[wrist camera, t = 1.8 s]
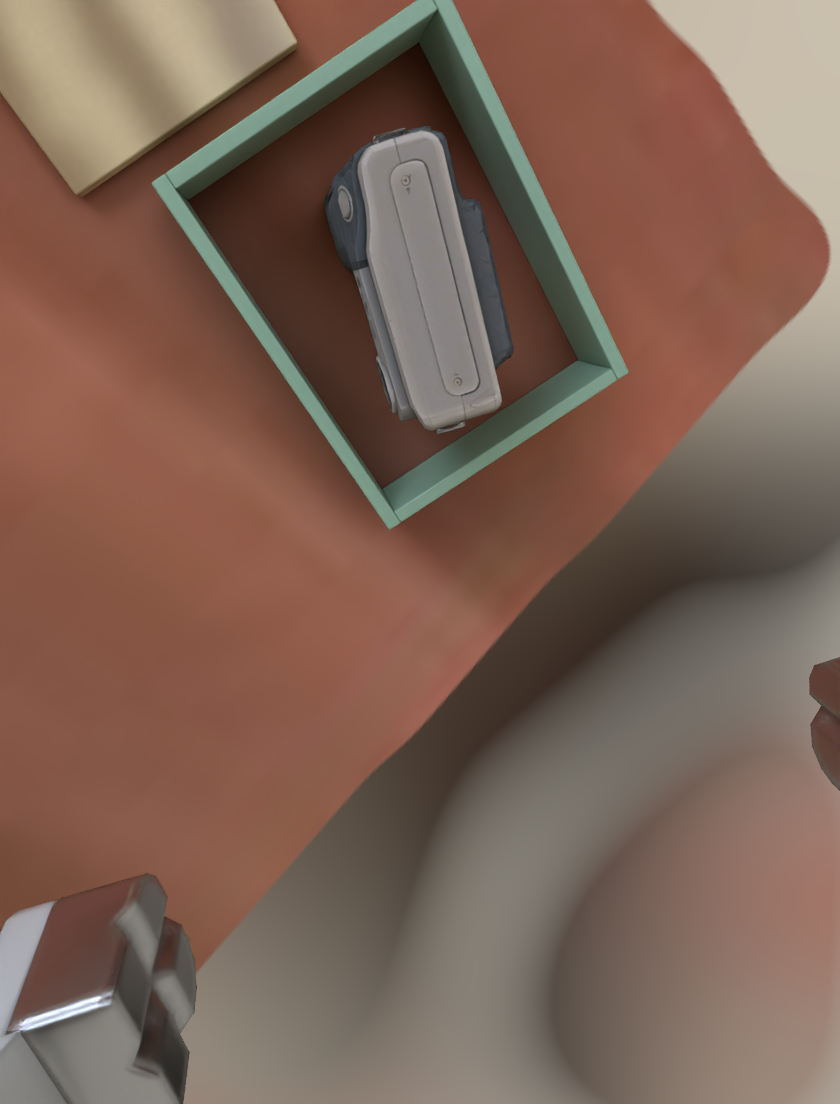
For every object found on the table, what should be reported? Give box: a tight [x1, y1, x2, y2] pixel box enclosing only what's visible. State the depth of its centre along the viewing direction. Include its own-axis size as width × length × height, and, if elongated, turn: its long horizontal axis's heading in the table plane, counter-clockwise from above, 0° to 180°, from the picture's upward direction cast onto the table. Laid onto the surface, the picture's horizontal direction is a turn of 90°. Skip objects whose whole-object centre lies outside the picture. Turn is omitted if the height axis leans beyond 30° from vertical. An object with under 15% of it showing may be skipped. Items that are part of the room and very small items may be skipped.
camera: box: [324, 126, 514, 434], centre depth 33 cm, size 11×6×10 cm, turn 14°
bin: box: [152, 0, 628, 530], centre depth 35 cm, size 14×18×4 cm
